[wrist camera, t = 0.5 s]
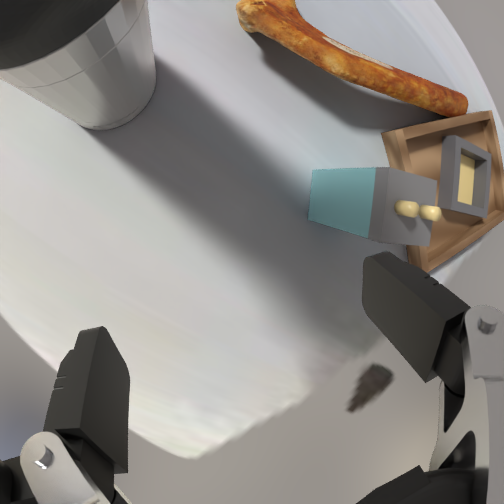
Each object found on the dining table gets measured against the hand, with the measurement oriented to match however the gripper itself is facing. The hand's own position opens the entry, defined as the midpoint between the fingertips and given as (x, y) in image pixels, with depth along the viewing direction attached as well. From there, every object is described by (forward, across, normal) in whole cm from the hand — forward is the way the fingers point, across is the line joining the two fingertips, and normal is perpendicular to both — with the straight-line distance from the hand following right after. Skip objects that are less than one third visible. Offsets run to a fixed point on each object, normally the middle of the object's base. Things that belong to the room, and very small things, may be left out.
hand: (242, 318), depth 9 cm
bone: (+24, -21, -8) cm, 33 cm away
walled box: (+21, -33, +6) cm, 40 cm away
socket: (+20, -34, +5) cm, 40 cm away
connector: (+20, -13, +5) cm, 25 cm away
